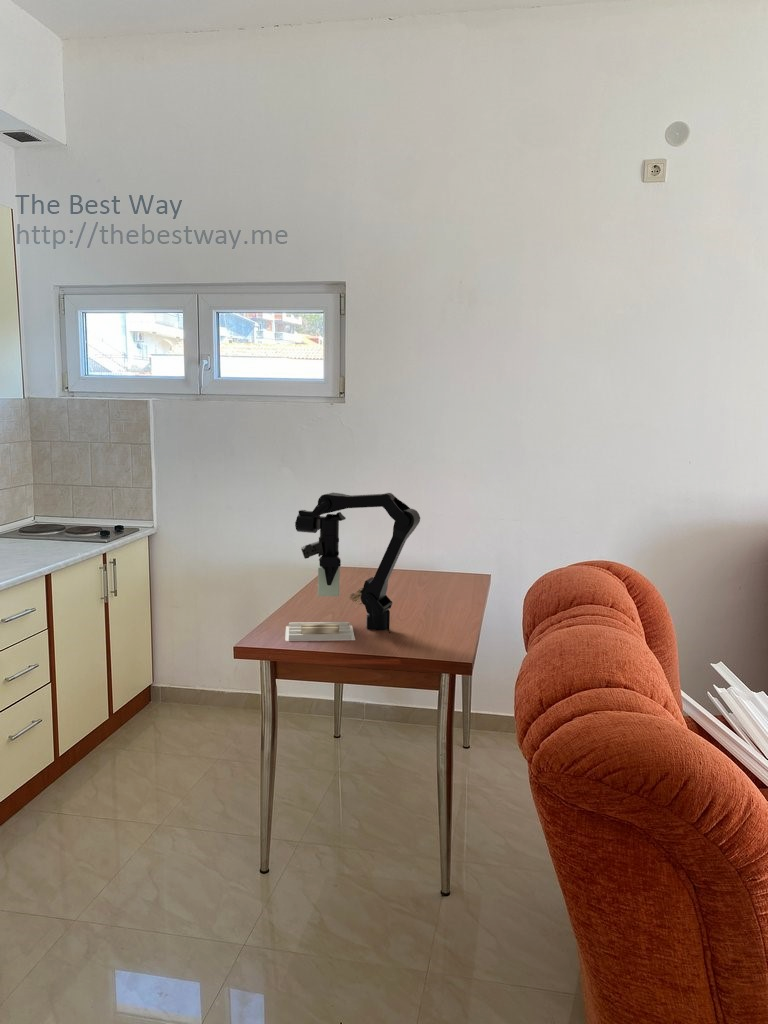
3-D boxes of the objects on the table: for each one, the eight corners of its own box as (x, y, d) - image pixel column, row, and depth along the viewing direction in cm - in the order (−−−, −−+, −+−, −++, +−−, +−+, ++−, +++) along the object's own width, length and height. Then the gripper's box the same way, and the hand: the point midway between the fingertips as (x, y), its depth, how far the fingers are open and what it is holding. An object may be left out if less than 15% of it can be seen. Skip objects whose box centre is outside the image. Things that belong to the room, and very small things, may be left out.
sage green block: (338, 594, 244) (339, 565, 243) (339, 596, 241) (339, 567, 240) (317, 594, 243) (318, 565, 242) (318, 596, 240) (318, 567, 239)
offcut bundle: (338, 635, 229) (339, 624, 228) (339, 638, 226) (339, 626, 226) (300, 636, 228) (301, 624, 227) (301, 639, 225) (301, 627, 224)
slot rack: (351, 628, 240) (351, 620, 239) (355, 643, 225) (355, 635, 225) (286, 629, 238) (286, 621, 237) (285, 644, 223) (285, 635, 223)
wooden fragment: (362, 587, 296) (362, 584, 296) (390, 589, 294) (390, 587, 293) (340, 603, 272) (340, 600, 272) (370, 606, 269) (370, 603, 269)
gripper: (302, 529, 248) (302, 577, 250) (302, 539, 230) (302, 591, 232) (338, 529, 249) (337, 577, 251) (341, 539, 231) (340, 591, 233)
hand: (328, 584), depth 242 cm, fingers closed on sage green block, 3 cm apart
